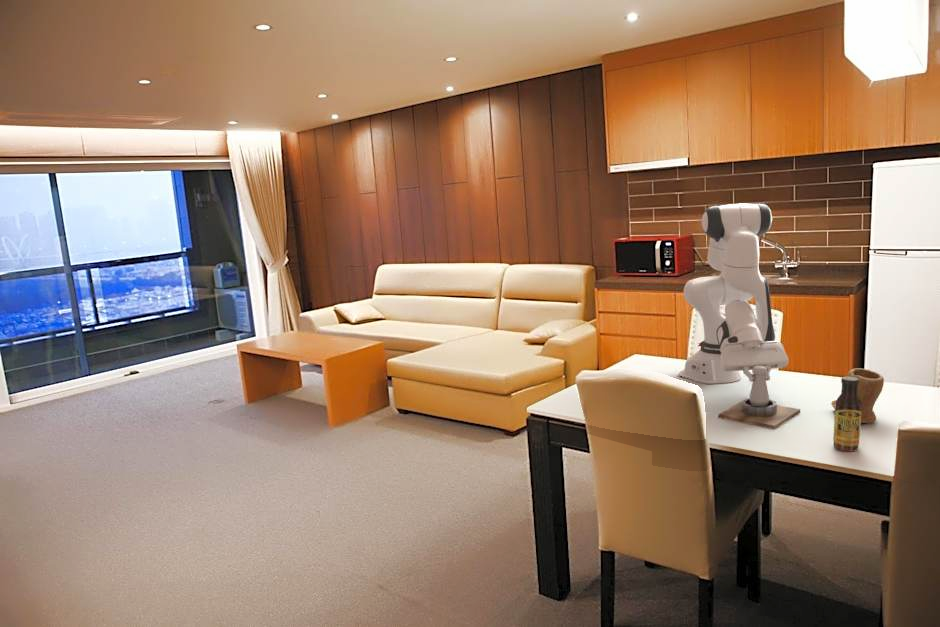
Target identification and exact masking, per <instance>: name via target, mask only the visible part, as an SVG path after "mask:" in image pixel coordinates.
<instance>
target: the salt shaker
mask: <svg viewBox="0 0 940 627" xmlns="http://www.w3.org/2000/svg"><path fill="white" fill-rule="evenodd" d="M751 371H752V372H751V374H755V377H756V380H755V381H752V384H751V389H750V394H749V399H750V402H751V404H752V406H755V407H766V406H767V404H768V402H769V399H770V396H769V391H768V390H769V389H768V385H767V381H766V379H765V374H767V368H766V367H765V366H754V367H753V369H752V370H751Z"/></svg>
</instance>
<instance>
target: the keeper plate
mask: <svg viewBox="0 0 940 627" xmlns="http://www.w3.org/2000/svg"><path fill="white" fill-rule="evenodd" d="M742 401H743V400H742ZM742 401H740V402H738V403H736V404H734V405H732V406H731V407H729V408H727V409H725V410H723V411H721V412H720V413H718V418H720V417H721V418H720V419H725V418H726V419H725V420H731V421H736V422H741V423H745V424H750V425H755V426H758V427H764V428H768V429H769V428H770V429H773V430H775V429H777V428H778V427H780V426H782V425H783V424H785V423H786V422H788V421H789V420H791V419H792V418H794V417H795V416H797V415H798V414H800V413H801V409H800V408H796V407H790V406H786V405H785V406H784V405H779V404H777V414H775V415H774V416H770V417H753V416H748V415H746V414H744V413H742Z"/></svg>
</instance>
